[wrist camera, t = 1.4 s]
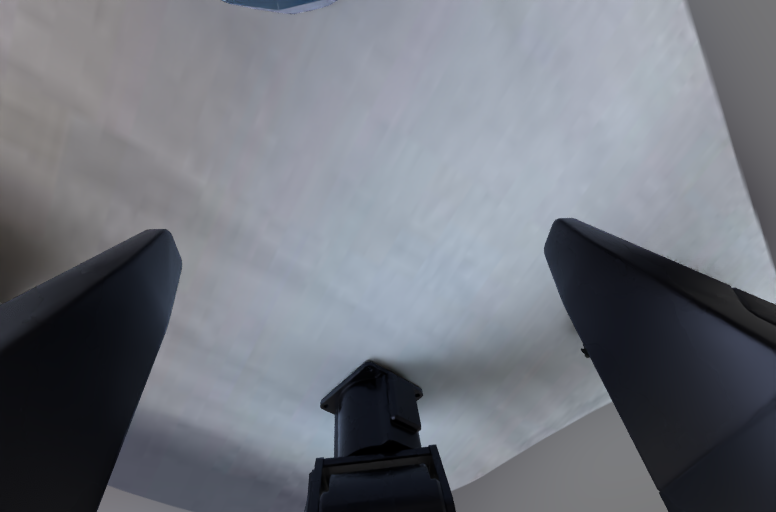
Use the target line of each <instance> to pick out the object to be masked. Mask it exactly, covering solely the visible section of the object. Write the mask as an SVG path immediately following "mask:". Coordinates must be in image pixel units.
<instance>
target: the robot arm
mask: <svg viewBox="0 0 776 512" xmlns="http://www.w3.org/2000/svg"><path fill="white" fill-rule="evenodd" d="M544 254H545V257H546V260H547V263H548V265H549V268H550V271H551V273H552V276H553V279H554V281H555V284H556V287H557V289H558V292H559V295H560V297H561V300H562V302H563V304H564V307H565V309H566V311H567V313H568V315H569V317H570V319H571V321H572V323H573V325H574V327H575V329H576V331H577V333H578V335H579V336H580V338H581V340H582V342H583V344H584V346H585V348H586V350H587V352H588V354H589V356H590V358H591V360H592V362H593V364H594V366H595V368H596V370H597V372H598V374H599V376H600V378H601V380H602V382H603V384H604V386H605V388H606V389H607V391H608V393H609V395H610V397H611V399H612V401H613V403H614V405H615V407H616V409H617V411H618V413H619V415H620V417H621V419H622V421H623V423H624V425H625V426H626V429H627V430H628V433H629V435H630V437H631V439H632V440H633V442H634V444H635V446H636V448H637V450H638V452H639V454H640V456H641V458H642V460H643V462H644V464H645V466H646V468H647V470H648V472H649V474H650V476H651V478H652V480H653V481H654V484H655V485H656V487H657V489H658V490H659V491H660V492H659V494H660V496H661V498H662V500H663V501H664V504H665V506H666V507H667V510H668V512H776V305H775V304H773V303H770V302H768V301H765V300H763V299H761V298H758V297H756V296H753V295H751V294H749V293H747V292H744V291H742V290H740V289H737V288H732V287H731V286H730V285H728V284H725V283H723V282H721V281H718V280H716V279H714V278H712V277H709V276H707V275H705V274H702V273H700V272H698V271H695V270H693V269H691V268H688V267H686V266H684V265H681V264H679V263H677V262H674V261H672V260H670V259H667V258H665V257H663V256H660V255H658V254H656V253H653V252H651V251H649V250H646V249H644V248H642V247H640V246H637V245H635V244H633V243H630V242H628V241H626V240H623V239H621V238H619V237H616V236H614V235H612V234H609V233H607V232H605V231H602V230H600V229H598V228H595V227H593V226H591V225H588V224H586V223H584V222H581V221H579V220H577V219H574V218H559V219H557V220H555V221H554V222H553V224H552V227H551V230H550V232H549V235H548V238H547V240H546V243H545V246H544ZM181 270H182V260H181V257H180V254H179V252H178V249H177V247H176V244H175V241H174V239H173V236H172V234H171V233H170V232H169V231H168V230H166V229H149V230H145V231H143V232H141V233H139V234H137V235H135V236H133V237H132V238H130V239H128V240H126V241H124V242H122V243H120V244H118V245H116V246H114V247H112V248H110V249H108V250H106V251H104V252H102V253H101V254H99V255H97V256H95V257H93V258H91V259H89V260H87V261H85V262H83V263H81V264H79V265H77V266H75V267H73V268H72V269H70V270H68V271H66V272H64V273H62V274H60V275H58V276H56V277H54V278H52V279H50V280H48V281H46V282H44V283H43V284H41V285H39V286H37V287H35V288H33V289H31V290H29V291H27V292H25V293H23V294H21V295H19V296H17V297H15V298H13V299H12V300H10V301H8V302H6V303H4V304H2V305H0V512H97V510H98V507H99V505H100V502H101V499H102V497H103V494H104V491H105V489H106V486H107V484H108V481H109V479H110V476H111V473H112V471H113V468H114V465H115V463H116V460H117V458H118V455H119V452H120V450H121V447H122V445H123V442H124V439H125V437H126V434H127V432H128V429H129V426H130V424H131V421H132V419H133V416H134V413H135V411H136V408H137V405H138V403H139V400H140V398H141V395H142V392H143V390H144V387H145V385H146V382H147V379H148V377H149V374H150V372H151V369H152V366H153V364H154V361H155V358H156V356H157V353H158V351H159V348H160V345H161V343H162V340H163V338H164V335H165V332H166V329H167V326H168V323H169V319H170V316H171V312H172V307H173V303H174V299H175V295H176V291H177V287H178V283H179V278H180V274H181ZM422 396H423V392H422V389H421V388H419V387H417V386H415V385H414V384H412V383H410V382H408V381H406V380H404V379H403V378H401V377H399V376H397V375H395V374H393V373H392V372H390V371H388V370H386V369H384V368H382V367H381V366H379V365H377V364H375V363H373V362H365V363H364V364H363V365H361V366H360V367H359V368H358V369H357V370H356V371H355V372H353V373H352V374H351V375H350V376H349V377H348V378H346V379H345V380H344V381H343V382H342V383H341V384H340V385H338V386H337V387H336V388H335V389H334V390H333V391H331V392H330V393H329V394H328V395H327V396H326V397H325V398H323V399H322V400H321V403H320V407H321V409H323V410H325V411H328V412H330V413H332V414H334V415H335V433H334V458H325V459H324V457H322V458H316V461H315V469H314V470H312V472H311V473H310V474H309V486H308V496H307V502H306V506H305V510H304V512H456V511H455V505H454V501H453V497H452V494H451V490H450V487H449V484H448V480H447V477H446V474H445V471H444V468H443V465H442V462H441V458H440V455H439V452H438V449H437V446H436V444H435V445H429V446H428V447H421V443H420V437H419V431H420V430H421V422H420V417H419V412H418V407H417V402H416V401H417V400H419V399H420V398H421V397H422Z"/></svg>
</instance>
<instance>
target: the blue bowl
mask: <svg viewBox="0 0 776 512" xmlns="http://www.w3.org/2000/svg"><path fill="white" fill-rule="evenodd" d="M222 1H224V2H226V3H229V4H233V5H238V6H242V7H247V8H251V9H257V10H264V11H271V12H278V13H286V14H297V13H301V12H307V11H312V10H315V9H319V8H322V7H326V6H329V5H331V4H333V3H334V2H335V1H337V0H222Z"/></svg>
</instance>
